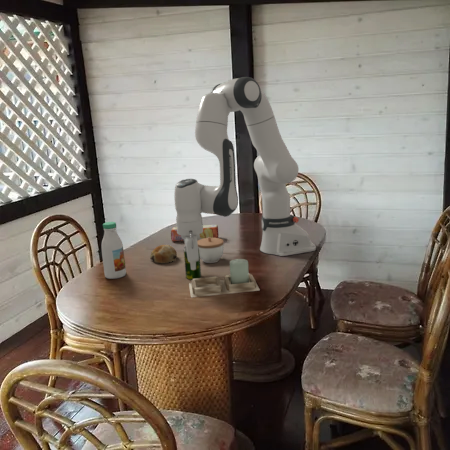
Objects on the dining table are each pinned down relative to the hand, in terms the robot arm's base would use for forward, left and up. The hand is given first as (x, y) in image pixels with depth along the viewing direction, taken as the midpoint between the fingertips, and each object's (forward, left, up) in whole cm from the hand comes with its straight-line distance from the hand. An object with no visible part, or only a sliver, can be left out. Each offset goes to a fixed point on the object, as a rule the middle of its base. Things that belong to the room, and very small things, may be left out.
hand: (192, 265), depth 164 cm
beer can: (0, 0, -5) cm, 5 cm away
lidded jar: (-8, -19, -5) cm, 21 cm away
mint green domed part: (-14, +12, -4) cm, 19 cm away
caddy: (-9, +12, -5) cm, 16 cm away
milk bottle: (+28, -12, -5) cm, 31 cm away
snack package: (-4, -49, -6) cm, 50 cm away
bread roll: (+10, -25, -6) cm, 28 cm away
